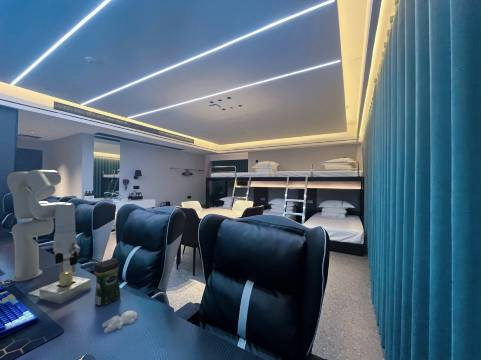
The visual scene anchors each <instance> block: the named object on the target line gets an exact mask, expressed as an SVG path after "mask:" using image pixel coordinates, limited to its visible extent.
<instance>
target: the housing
mask: <svg viewBox="0 0 481 360" xmlns="http://www.w3.org/2000/svg"><path fill="white" fill-rule="evenodd" d="M91 280H92V279H91V278H85V277H80V276H76V275H75V276H73V284H71V285H69V286H67V287H65V288H62V287H60V283H59V280H57V281H56V282H53V283H51V284H48V286H46V285H45V286H46V287H44V286H42V287H43V288H42V287H40V288H41V289H39V288H38V289H39V295H40V297H39V300H44V301H48V302H53V303H56V304H60V305H61V304H63V303H66V302H67V301H69V300H71V299H73V298H75V297H76V296H78V295H80V294H83V293H84V292H86V291H88V290H90V289H91V288H92V281H91Z"/></svg>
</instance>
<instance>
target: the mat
mask: <svg viewBox="0 0 481 360" xmlns="http://www.w3.org/2000/svg"><path fill="white" fill-rule="evenodd" d="M48 285H49V284H48ZM48 285H45V286H42V287H39V288H38V289H35V290H31V291H30V292H28V293H27V295H31V296H35V297H39V298H40V295H39V289H41V288H43V287H46V286H48Z"/></svg>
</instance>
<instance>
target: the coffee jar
mask: <svg viewBox="0 0 481 360" xmlns="http://www.w3.org/2000/svg"><path fill="white" fill-rule="evenodd" d="M119 270H120V262H119V259H117V258H114V257H113V258H110V259H106V260H103V261H100V262H97V263H95V265H94V271H93V272H94V275H95V278H96V284H95V295H94V303H95V304H96V306H101V307H102V306H107V305H109V304H112V303H114V302H115V301H117V300H119V299H120V297H121V290H120V282H119Z"/></svg>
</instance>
